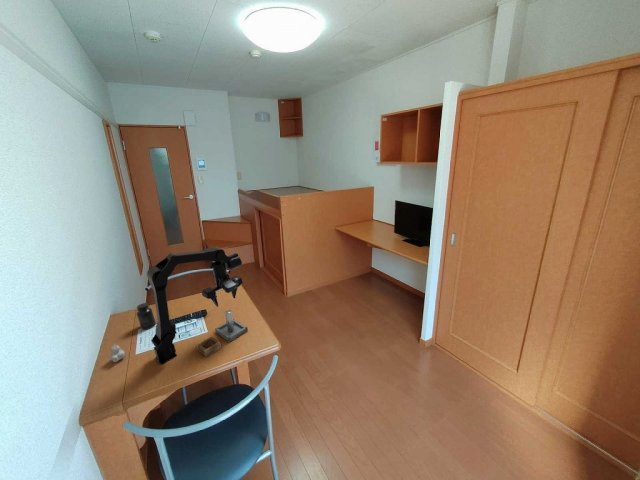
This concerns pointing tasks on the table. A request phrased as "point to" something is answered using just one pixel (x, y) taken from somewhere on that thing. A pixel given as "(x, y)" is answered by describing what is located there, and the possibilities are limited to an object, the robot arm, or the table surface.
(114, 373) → the table surface
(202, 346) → the socket
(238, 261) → the robot arm
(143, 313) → the supplement bottle
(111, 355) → the grey knobbly cluster
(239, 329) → the tray
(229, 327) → the pin
